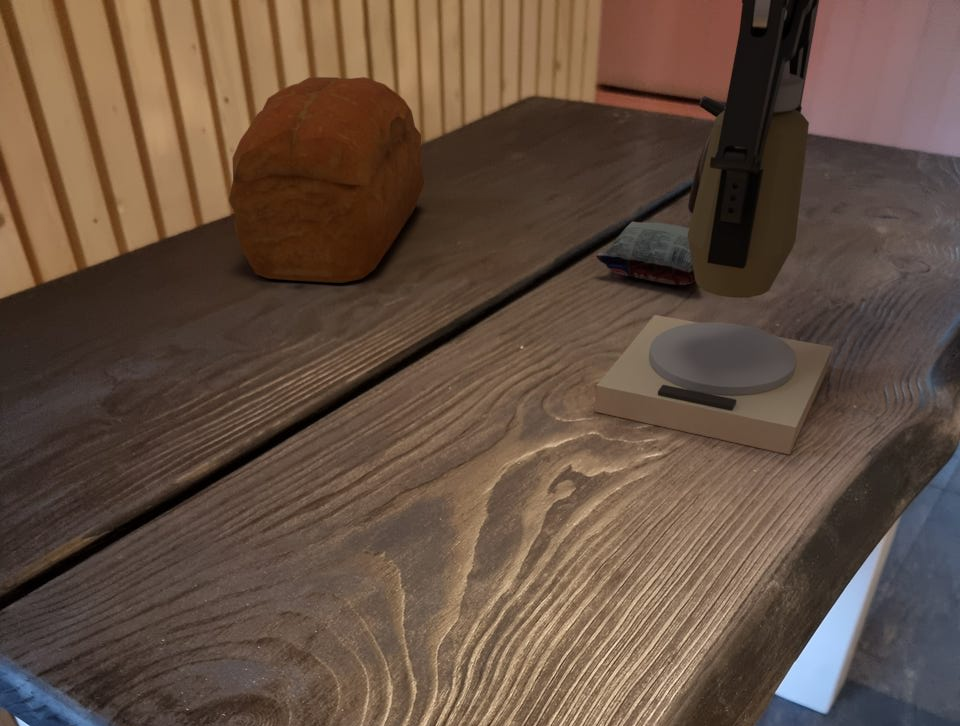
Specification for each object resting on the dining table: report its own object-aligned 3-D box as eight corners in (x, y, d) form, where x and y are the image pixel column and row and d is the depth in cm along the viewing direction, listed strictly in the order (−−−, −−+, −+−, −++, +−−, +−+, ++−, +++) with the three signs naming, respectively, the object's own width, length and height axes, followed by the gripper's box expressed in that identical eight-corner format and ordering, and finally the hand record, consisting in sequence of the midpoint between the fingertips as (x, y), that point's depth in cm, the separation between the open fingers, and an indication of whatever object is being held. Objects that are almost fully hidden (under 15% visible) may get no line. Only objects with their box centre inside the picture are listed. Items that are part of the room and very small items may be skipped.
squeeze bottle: (806, 290, 72) (870, 16, 60) (733, 315, 69) (785, 31, 57) (731, 259, 77) (776, 0, 65) (659, 281, 74) (692, 13, 62)
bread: (231, 279, 98) (198, 112, 87) (307, 198, 117) (288, 53, 107) (378, 288, 96) (363, 117, 85) (431, 203, 115) (425, 56, 104)
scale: (826, 372, 81) (835, 337, 79) (789, 454, 71) (798, 417, 69) (651, 339, 86) (655, 306, 84) (594, 411, 76) (597, 376, 74)
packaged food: (626, 251, 102) (631, 204, 99) (729, 271, 98) (737, 223, 94) (592, 279, 97) (595, 231, 94) (699, 301, 92) (706, 251, 89)
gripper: (785, -152, 64) (728, 197, 79) (700, -134, 50) (651, 285, 65) (899, -151, 61) (817, 209, 77) (842, -132, 47) (757, 303, 63)
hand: (741, 244), depth 71 cm, fingers closed on squeeze bottle, 8 cm apart
